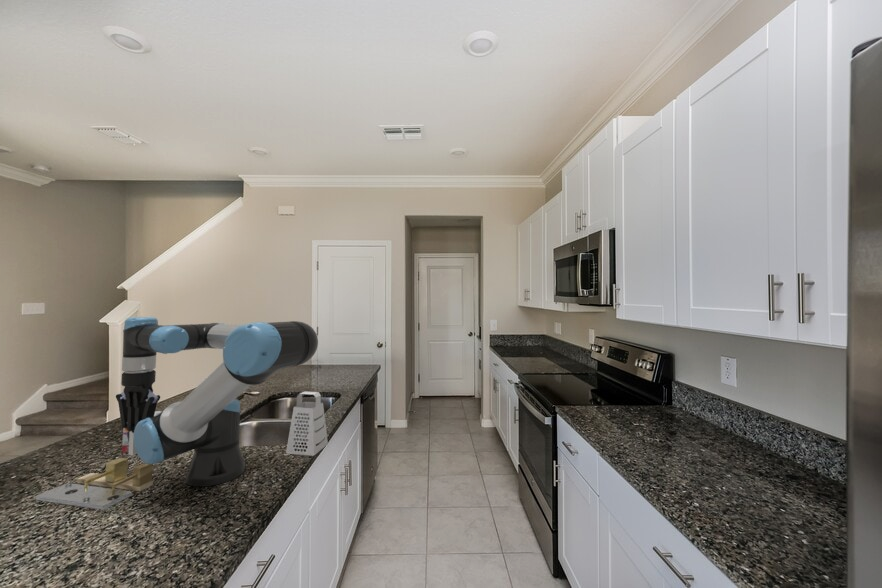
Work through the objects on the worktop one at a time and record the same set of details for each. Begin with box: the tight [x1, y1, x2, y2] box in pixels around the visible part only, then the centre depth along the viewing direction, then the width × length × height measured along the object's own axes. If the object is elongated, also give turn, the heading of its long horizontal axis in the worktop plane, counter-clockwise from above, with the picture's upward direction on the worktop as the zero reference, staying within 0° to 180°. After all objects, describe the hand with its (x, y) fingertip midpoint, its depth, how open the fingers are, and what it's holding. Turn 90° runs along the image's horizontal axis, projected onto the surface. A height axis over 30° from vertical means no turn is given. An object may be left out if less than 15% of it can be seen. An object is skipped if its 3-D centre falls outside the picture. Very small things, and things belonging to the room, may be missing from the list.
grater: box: [285, 391, 329, 457], centre depth 130 cm, size 10×10×20 cm
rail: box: [76, 462, 154, 495], centre depth 100 cm, size 22×10×6 cm, turn 79°
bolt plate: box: [35, 482, 133, 511], centre depth 96 cm, size 22×7×1 cm, turn 79°
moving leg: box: [83, 457, 129, 491], centre depth 100 cm, size 3×10×5 cm, turn 169°
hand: (135, 453), depth 103 cm, fingers closed
